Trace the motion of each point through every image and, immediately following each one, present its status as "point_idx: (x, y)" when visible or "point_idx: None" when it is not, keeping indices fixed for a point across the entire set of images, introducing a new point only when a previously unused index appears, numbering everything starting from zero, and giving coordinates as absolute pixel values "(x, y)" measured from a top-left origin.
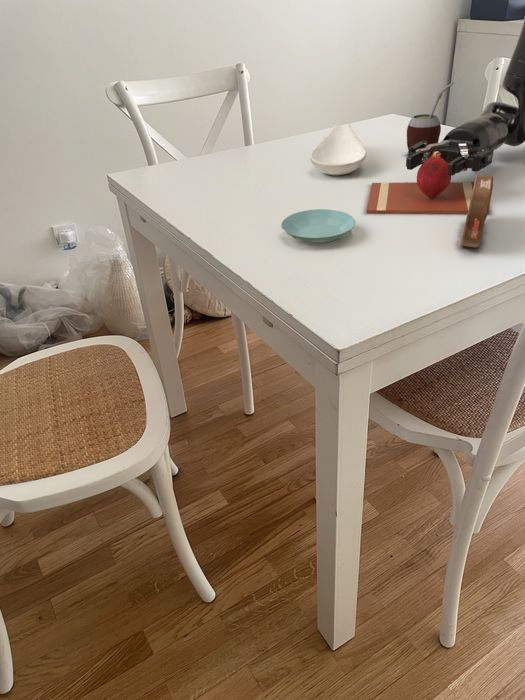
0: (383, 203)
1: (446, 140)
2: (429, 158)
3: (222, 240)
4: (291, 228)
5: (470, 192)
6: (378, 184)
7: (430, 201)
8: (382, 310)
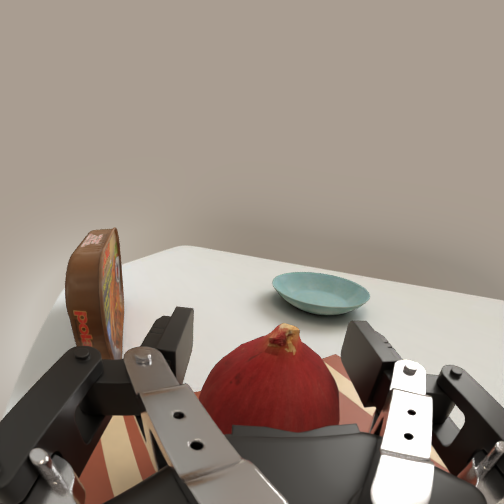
0: (339, 384)
1: (421, 492)
2: (306, 347)
3: (376, 284)
4: (347, 293)
5: None
6: None
7: None
8: (174, 256)
